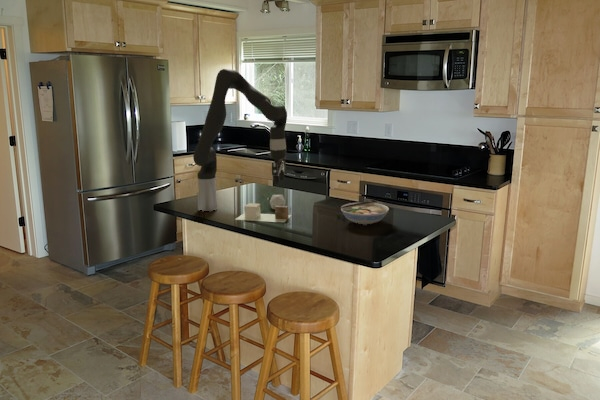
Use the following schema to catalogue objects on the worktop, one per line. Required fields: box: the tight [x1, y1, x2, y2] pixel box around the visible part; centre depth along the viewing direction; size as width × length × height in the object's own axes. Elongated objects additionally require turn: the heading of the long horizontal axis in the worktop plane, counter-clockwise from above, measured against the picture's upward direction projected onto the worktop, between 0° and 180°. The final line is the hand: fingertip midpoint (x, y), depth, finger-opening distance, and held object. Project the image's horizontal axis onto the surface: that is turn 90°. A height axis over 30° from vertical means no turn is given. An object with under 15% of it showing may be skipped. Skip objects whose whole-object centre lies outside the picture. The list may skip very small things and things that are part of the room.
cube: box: [244, 202, 262, 219], centre depth 256 cm, size 6×6×6 cm
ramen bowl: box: [335, 199, 390, 226], centre depth 245 cm, size 25×23×8 cm
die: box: [269, 194, 286, 210], centre depth 272 cm, size 8×9×10 cm
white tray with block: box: [234, 205, 292, 223], centre depth 255 cm, size 25×13×7 cm, turn 75°
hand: (279, 181), depth 250 cm, fingers open, 8 cm apart
